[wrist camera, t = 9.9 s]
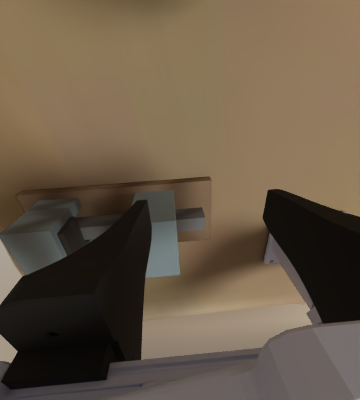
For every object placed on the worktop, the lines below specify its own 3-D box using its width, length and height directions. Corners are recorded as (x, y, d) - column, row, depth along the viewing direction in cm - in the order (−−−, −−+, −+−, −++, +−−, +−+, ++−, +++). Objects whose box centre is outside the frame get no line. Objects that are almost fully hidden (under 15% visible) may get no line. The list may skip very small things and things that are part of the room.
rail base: (209, 176, 21) (225, 208, 15) (208, 234, 25) (220, 276, 19) (22, 191, 20) (-34, 229, 15) (51, 247, 24) (16, 294, 19)
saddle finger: (173, 190, 20) (175, 220, 15) (177, 237, 23) (180, 274, 19) (130, 193, 20) (119, 225, 15) (140, 240, 23) (133, 279, 18)
